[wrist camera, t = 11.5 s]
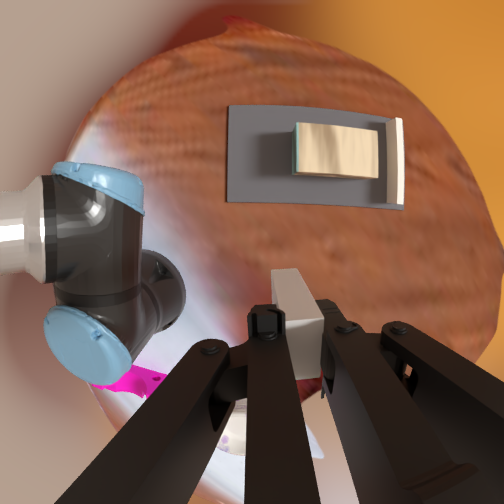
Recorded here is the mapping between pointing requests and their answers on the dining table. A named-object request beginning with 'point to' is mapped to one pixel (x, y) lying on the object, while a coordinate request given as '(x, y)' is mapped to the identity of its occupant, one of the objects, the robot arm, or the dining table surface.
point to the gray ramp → (280, 158)
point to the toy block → (136, 382)
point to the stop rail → (395, 161)
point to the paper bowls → (235, 431)
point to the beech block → (334, 151)
